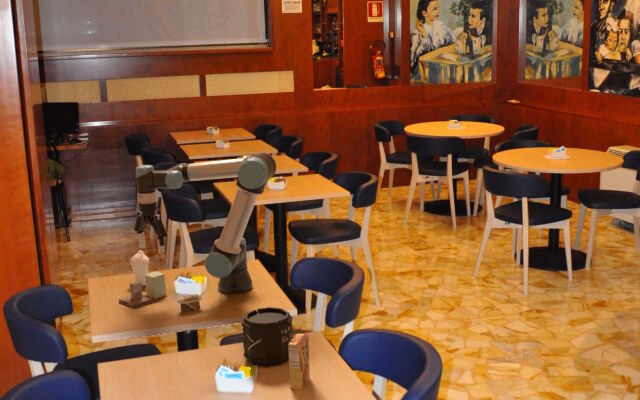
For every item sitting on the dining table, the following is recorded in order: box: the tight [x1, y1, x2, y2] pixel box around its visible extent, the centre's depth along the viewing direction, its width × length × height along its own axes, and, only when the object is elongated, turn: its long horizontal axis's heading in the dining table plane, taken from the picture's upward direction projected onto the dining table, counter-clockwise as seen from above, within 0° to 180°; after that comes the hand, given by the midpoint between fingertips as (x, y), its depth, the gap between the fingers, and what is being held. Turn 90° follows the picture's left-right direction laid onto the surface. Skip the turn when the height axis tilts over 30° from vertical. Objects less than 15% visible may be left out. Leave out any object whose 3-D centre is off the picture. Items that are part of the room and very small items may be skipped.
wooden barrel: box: [240, 306, 294, 368], centre depth 274 cm, size 18×18×16 cm
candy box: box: [288, 333, 311, 391], centre depth 254 cm, size 9×4×15 cm, turn 163°
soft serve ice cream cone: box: [129, 249, 150, 287], centre depth 358 cm, size 8×8×16 cm
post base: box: [118, 280, 156, 309], centre depth 336 cm, size 12×10×8 cm
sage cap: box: [145, 271, 167, 300], centre depth 343 cm, size 6×6×10 cm
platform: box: [177, 293, 203, 312], centre depth 324 cm, size 12×18×7 cm, turn 115°
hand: (152, 250), depth 339 cm, fingers open, 13 cm apart
